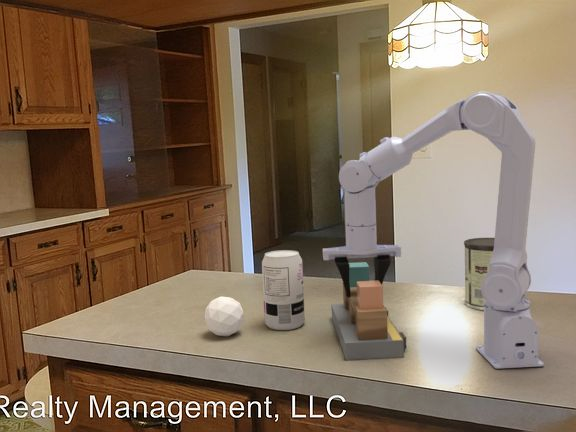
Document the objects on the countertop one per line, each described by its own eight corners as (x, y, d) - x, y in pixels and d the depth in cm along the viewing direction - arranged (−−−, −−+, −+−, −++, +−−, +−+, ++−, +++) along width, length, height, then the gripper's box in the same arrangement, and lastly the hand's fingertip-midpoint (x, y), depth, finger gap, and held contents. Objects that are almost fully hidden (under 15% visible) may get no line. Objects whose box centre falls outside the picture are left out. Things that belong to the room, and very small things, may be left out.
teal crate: (369, 286, 117) (369, 266, 117) (349, 287, 117) (349, 267, 117) (366, 281, 121) (366, 262, 121) (347, 282, 121) (346, 263, 121)
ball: (215, 349, 117) (189, 318, 117) (239, 324, 123) (214, 295, 122) (235, 338, 112) (207, 306, 111) (258, 313, 117) (232, 282, 117)
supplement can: (259, 322, 124) (255, 252, 122) (295, 316, 127) (292, 248, 125) (273, 333, 116) (270, 259, 114) (311, 327, 120) (308, 254, 118)
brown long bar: (387, 338, 102) (387, 311, 101) (358, 340, 102) (358, 312, 101) (367, 302, 124) (366, 279, 123) (343, 303, 124) (342, 280, 123)
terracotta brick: (383, 308, 103) (382, 286, 102) (360, 309, 102) (359, 287, 102) (379, 301, 107) (378, 280, 106) (357, 303, 106) (356, 281, 106)
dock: (409, 356, 101) (409, 339, 101) (345, 360, 101) (345, 342, 101) (383, 315, 125) (383, 301, 125) (331, 317, 125) (331, 303, 124)
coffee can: (509, 298, 133) (509, 236, 132) (517, 311, 123) (518, 245, 122) (462, 297, 136) (461, 237, 134) (466, 310, 126) (466, 245, 124)
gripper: (395, 219, 114) (396, 287, 116) (320, 223, 114) (323, 291, 116) (403, 224, 107) (404, 297, 109) (323, 228, 107) (326, 301, 109)
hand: (362, 295), depth 112 cm, fingers closed on brown long bar, 5 cm apart
